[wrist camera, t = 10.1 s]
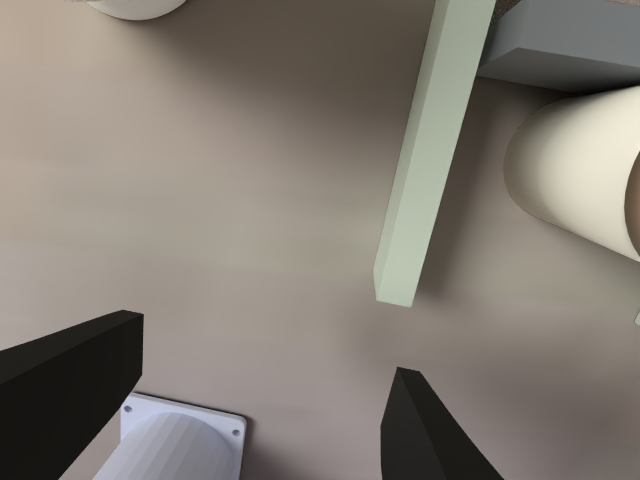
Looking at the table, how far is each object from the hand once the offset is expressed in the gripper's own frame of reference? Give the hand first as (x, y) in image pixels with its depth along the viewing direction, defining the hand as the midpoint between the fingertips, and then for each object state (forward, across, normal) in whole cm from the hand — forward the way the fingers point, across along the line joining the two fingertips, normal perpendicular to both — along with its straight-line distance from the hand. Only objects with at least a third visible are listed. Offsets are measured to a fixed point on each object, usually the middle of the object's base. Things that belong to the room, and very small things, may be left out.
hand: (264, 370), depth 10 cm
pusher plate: (+9, -11, -11) cm, 18 cm away
